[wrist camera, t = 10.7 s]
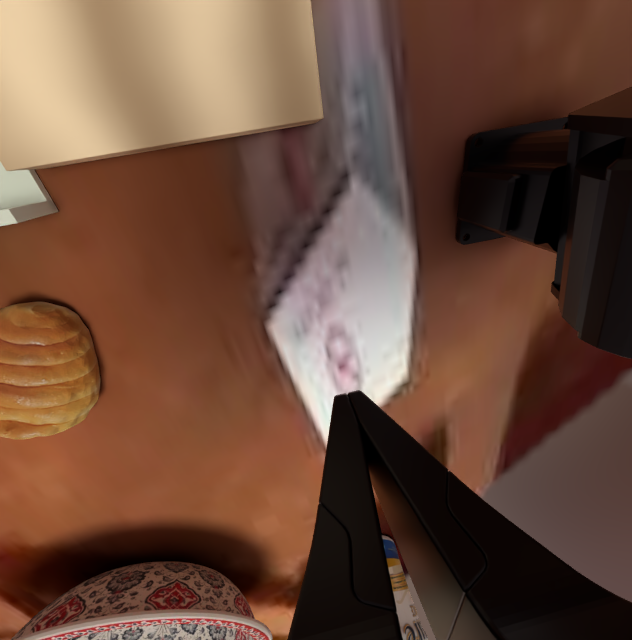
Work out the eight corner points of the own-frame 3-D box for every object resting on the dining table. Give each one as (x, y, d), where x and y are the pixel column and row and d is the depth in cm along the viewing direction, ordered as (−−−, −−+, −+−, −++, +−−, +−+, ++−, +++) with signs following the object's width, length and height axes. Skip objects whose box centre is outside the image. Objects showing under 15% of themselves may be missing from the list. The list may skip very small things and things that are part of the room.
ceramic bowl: (52, 633, 41) (9, 729, 34) (-14, 526, 27) (-108, 651, 20) (258, 606, 48) (257, 681, 41) (286, 510, 34) (292, 599, 27)
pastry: (-16, 279, 17) (-83, 309, 13) (115, 311, 19) (84, 343, 16) (-5, 393, 20) (-55, 439, 17) (103, 409, 23) (76, 451, 19)
